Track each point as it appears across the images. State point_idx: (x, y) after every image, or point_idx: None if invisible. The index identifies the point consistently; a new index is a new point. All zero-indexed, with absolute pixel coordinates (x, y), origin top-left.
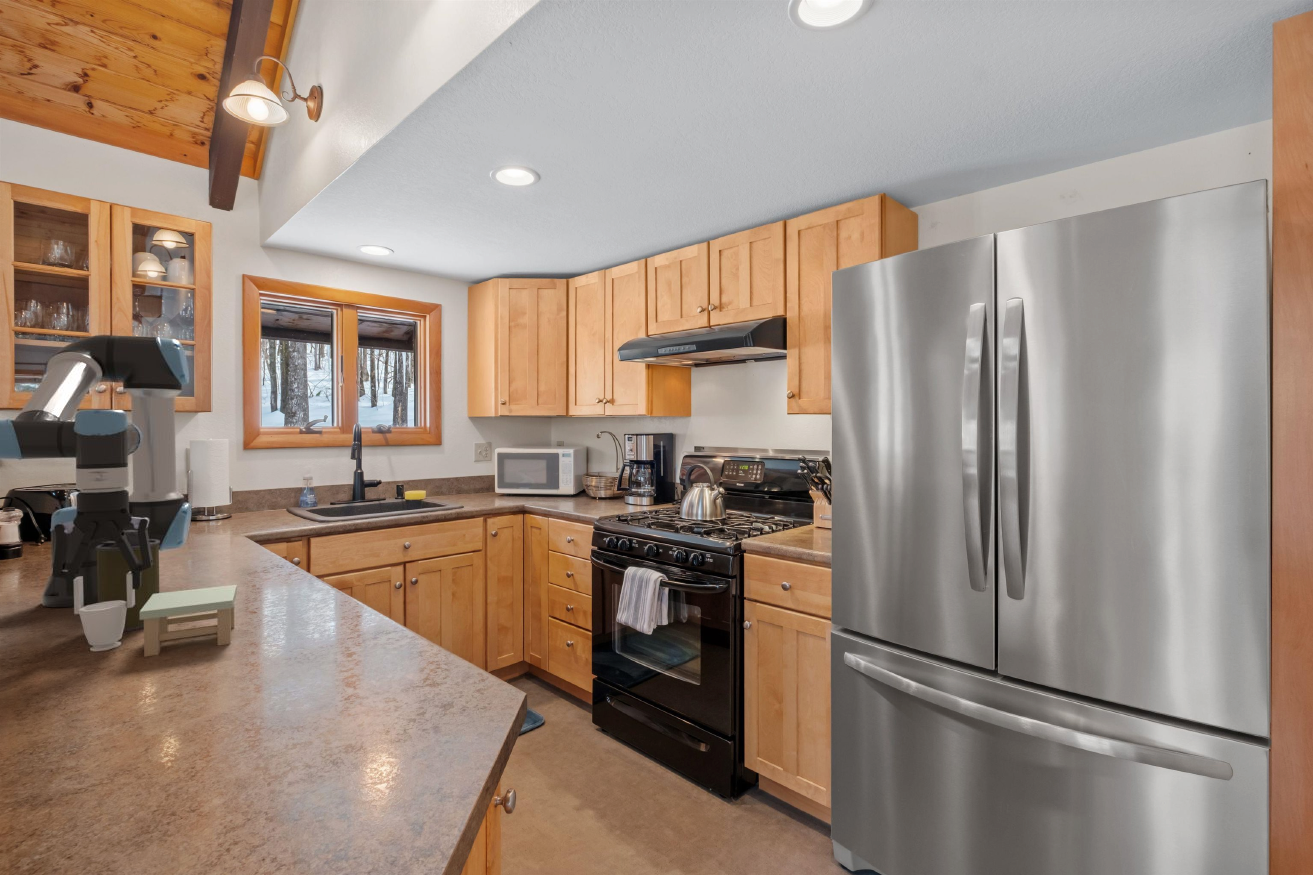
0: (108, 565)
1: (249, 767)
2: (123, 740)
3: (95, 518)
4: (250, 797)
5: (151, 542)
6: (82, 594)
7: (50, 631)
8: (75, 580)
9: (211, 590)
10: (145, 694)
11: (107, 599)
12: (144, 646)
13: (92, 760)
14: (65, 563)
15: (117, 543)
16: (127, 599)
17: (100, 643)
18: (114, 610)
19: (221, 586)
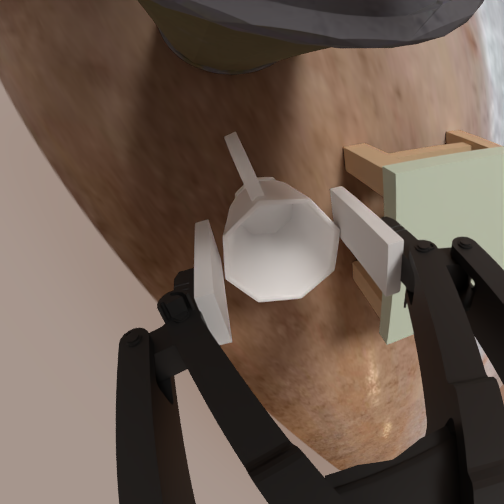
0: (222, 42)
1: (414, 432)
2: (364, 428)
3: None
4: (409, 442)
5: None
6: (213, 257)
7: (49, 32)
8: (221, 342)
9: (498, 192)
10: (371, 382)
11: (206, 58)
12: (360, 289)
13: (351, 441)
14: (154, 374)
15: (429, 420)
16: (345, 242)
17: (265, 235)
18: (317, 273)
19: None
